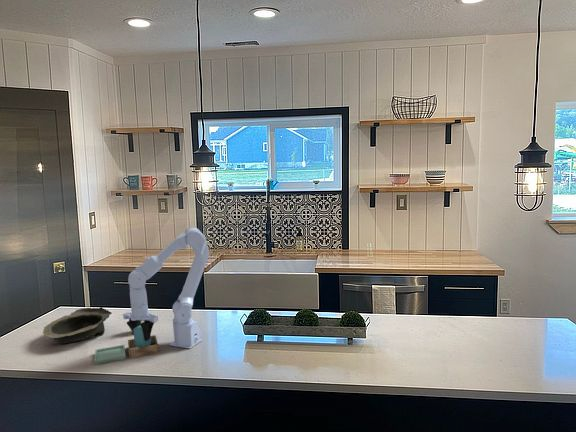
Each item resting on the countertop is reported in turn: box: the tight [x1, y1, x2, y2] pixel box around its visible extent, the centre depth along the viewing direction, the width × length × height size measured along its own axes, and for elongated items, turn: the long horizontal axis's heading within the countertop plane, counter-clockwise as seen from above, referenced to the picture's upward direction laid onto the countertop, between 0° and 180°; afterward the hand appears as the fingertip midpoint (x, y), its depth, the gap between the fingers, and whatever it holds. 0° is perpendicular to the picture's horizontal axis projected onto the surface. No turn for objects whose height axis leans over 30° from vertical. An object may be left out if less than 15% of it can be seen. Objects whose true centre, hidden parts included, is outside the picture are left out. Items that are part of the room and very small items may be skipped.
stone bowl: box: [42, 306, 113, 345], centre depth 179 cm, size 25×25×9 cm
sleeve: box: [127, 334, 160, 359], centre depth 164 cm, size 10×10×3 cm
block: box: [133, 325, 152, 348], centre depth 164 cm, size 4×4×7 cm
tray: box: [94, 344, 127, 366], centre depth 160 cm, size 10×10×2 cm
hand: (142, 339), depth 164 cm, fingers closed on block, 4 cm apart
